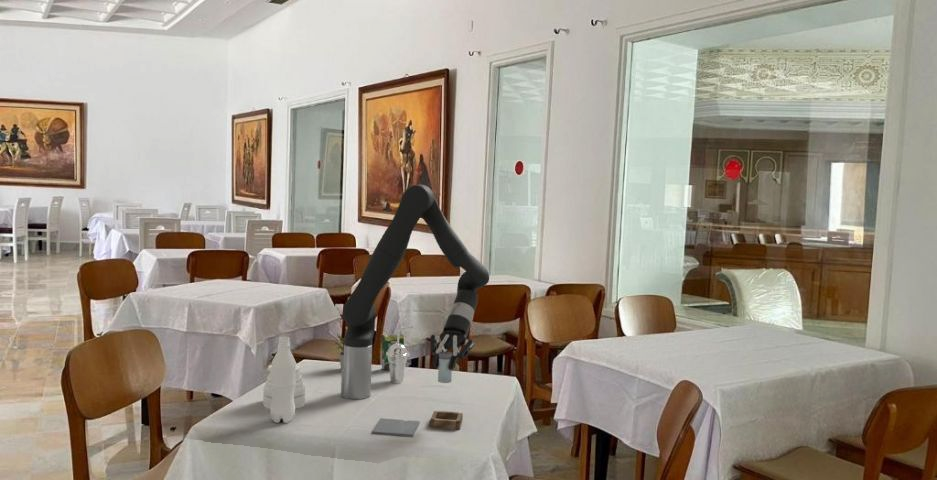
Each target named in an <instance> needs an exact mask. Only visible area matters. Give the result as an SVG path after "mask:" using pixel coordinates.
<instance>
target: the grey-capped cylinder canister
mask: <svg viewBox="0 0 937 480" xmlns="http://www.w3.org/2000/svg"><path fill="white" fill-rule="evenodd" d="M452 356H453V351H452V352H451V351H446V352H439V365H438V368H437V369H438V372H437V373H438V375H437V381H438V383H441V384H450V383H452V374H453V370H449V368H448V366H449V363H450V360H451V357H452Z"/></svg>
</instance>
